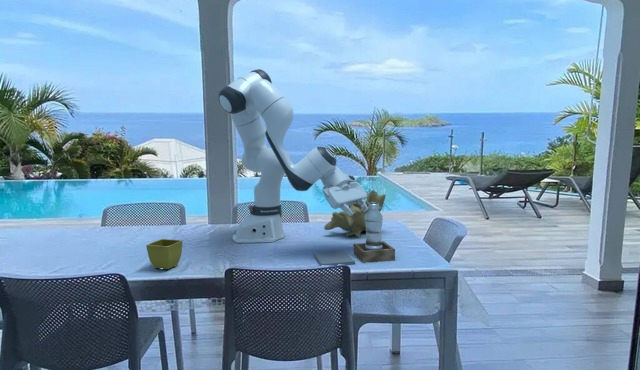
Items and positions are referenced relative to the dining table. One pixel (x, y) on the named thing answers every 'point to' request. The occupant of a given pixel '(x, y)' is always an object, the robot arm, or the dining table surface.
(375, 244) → the plastic bottle
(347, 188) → the robot arm
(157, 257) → the flower pot
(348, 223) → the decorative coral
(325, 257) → the rubber mat
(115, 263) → the dining table surface
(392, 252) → the walnut collar
